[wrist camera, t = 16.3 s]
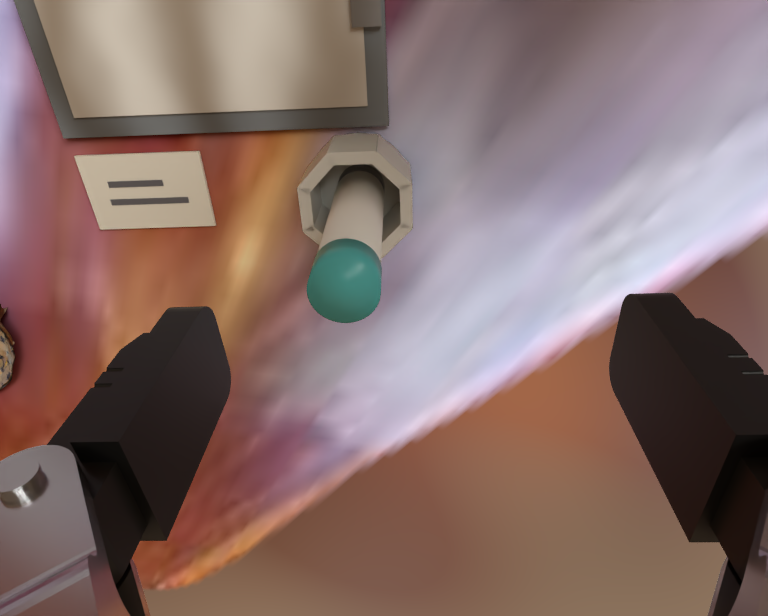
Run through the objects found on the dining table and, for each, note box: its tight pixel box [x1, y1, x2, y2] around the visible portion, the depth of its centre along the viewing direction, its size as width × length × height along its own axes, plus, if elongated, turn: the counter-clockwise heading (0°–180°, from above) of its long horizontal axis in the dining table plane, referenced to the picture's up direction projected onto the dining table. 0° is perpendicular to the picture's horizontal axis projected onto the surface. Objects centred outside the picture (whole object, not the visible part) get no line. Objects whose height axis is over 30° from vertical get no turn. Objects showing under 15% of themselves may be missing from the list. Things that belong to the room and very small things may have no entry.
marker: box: [307, 164, 385, 323], centre depth 27 cm, size 3×3×14 cm
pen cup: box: [297, 132, 413, 258], centre depth 31 cm, size 6×6×4 cm
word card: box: [74, 151, 216, 230], centre depth 34 cm, size 5×8×1 cm, turn 92°
